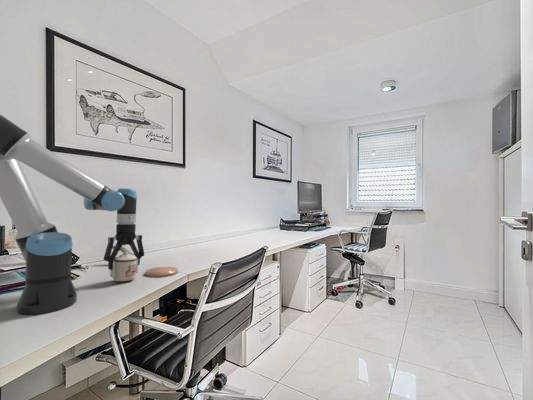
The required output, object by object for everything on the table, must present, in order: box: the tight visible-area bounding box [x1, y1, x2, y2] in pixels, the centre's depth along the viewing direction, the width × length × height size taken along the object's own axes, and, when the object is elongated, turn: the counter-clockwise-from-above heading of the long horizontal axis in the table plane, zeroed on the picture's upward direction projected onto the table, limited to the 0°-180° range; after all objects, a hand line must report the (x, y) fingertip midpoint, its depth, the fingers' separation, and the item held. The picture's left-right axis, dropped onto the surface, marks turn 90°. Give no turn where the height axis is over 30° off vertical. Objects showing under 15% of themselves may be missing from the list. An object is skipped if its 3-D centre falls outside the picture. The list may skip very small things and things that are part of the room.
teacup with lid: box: [112, 252, 137, 282], centre depth 117 cm, size 12×9×12 cm
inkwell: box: [112, 245, 142, 264], centre depth 147 cm, size 9×18×10 cm, turn 94°
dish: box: [144, 266, 179, 278], centre depth 129 cm, size 15×15×1 cm
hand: (124, 274), depth 116 cm, fingers closed on teacup with lid, 9 cm apart
